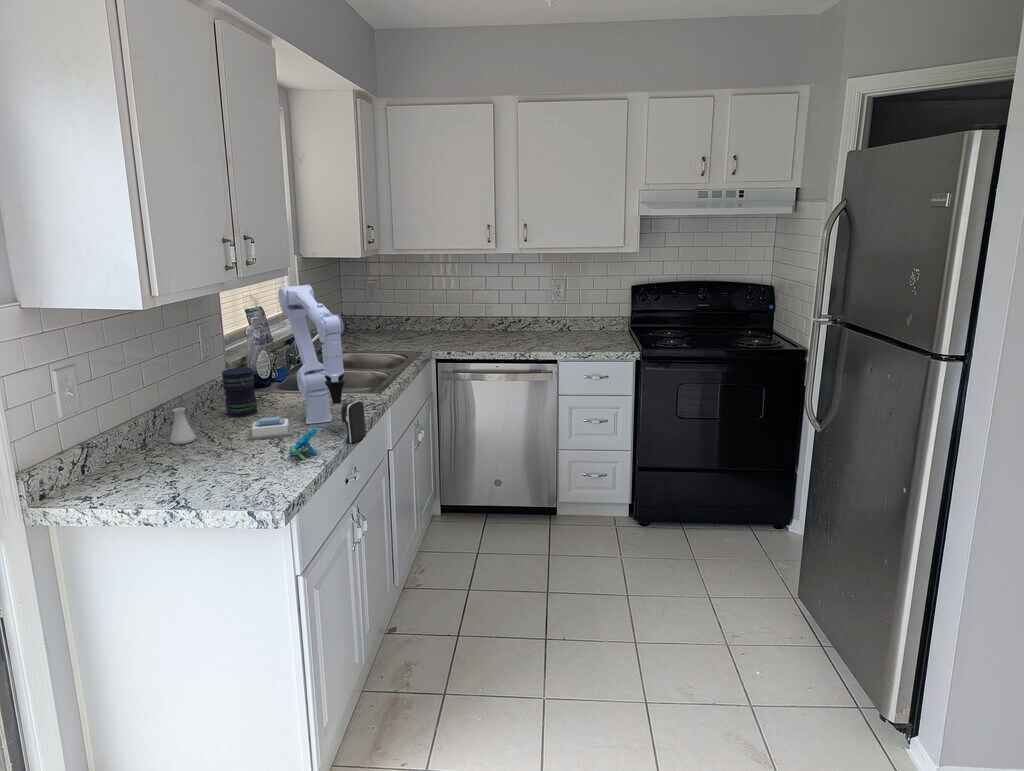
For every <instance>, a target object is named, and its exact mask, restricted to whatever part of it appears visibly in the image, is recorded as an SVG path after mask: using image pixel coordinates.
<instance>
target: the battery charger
mask: <svg viewBox="0 0 1024 771" xmlns="http://www.w3.org/2000/svg"><path fill="white" fill-rule="evenodd" d="M340 413H341V422H342V423H344V424H345V426H346V430H347V431H346V432H347V433H346V434H347V437H346V439H345V442H346V443H349V444H354V443H357V442H360V441H361V440H363V439H364V438H366V437H367V434H366V420H365V408H364V403H363V402H362V401H361V400H352V401H349V402H346V403H345V404H343V405H342V406H341V409H340Z"/></svg>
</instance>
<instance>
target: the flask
mask: <svg viewBox="0 0 1024 771" xmlns="http://www.w3.org/2000/svg"><path fill="white" fill-rule="evenodd" d="M185 410H186V408H185V407H177V408H173V409H172V411H171V412H172V413H173V415H174V416H173V417H174V418H173V420H174V421H173V425H172V430H171V434H170V437H169V442H170V443H169V442H168V443H169V444H171V443H173V444H172V445H186V444H189V443H192V442H195V441H196V440H197V439H198V437H197V436H196V434H195V432H194V431H193V429H192V427H191V426H190V423H189V422H188V420H187V416H186V412H185Z"/></svg>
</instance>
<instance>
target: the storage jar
mask: <svg viewBox="0 0 1024 771" xmlns="http://www.w3.org/2000/svg"><path fill="white" fill-rule="evenodd" d="M253 371H254V369H253V368H252V367H234V368H229V369H224V370H222V371H221V376H222V385H223V389H224V392H225V394H224V395H225V400H224V402H225V408H226V412H227V415H226V416H227V418H231V419H233V418H234V419H238V418H240V419H241V418H247V417H251V415H252V416H254V414H255V415H257V414H258V413H257V412H258V401H257V396H256V392H255V377H254V373H253ZM256 413H257V414H256Z"/></svg>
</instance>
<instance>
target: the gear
mask: <svg viewBox="0 0 1024 771" xmlns="http://www.w3.org/2000/svg"><path fill="white" fill-rule="evenodd" d="M317 432H318V428H317V427H314V428H311V429H310V430H309V431H308V433H305V434H304V435H303V436H302V437H301V438H299V439H298V441H297V442H296V443H295V444H294V445H293V446H291V447H290V448H289V451H288V455H290V456H291V457H292V456H294V455H295V456H298V457H300V459H302V461H305V460H306V456H304V455H303V454H302V453H301V452H303V451H304V450H306V449H308V450H309V452H311V453H312V455H314V456H315V455H317V454H318V451H317V450H315V448H313V447H312V446H311V443H310V440H311V439H312V438H314V437H315V435H316V433H317Z"/></svg>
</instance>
